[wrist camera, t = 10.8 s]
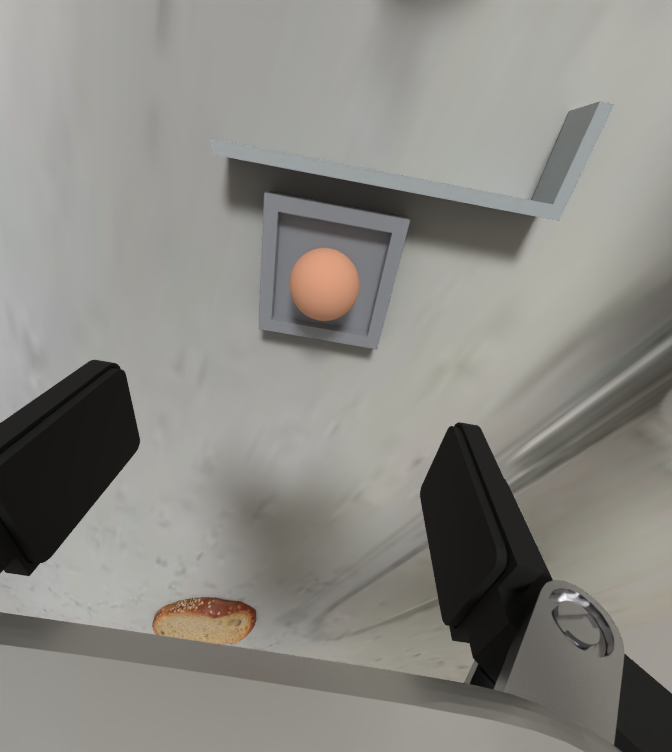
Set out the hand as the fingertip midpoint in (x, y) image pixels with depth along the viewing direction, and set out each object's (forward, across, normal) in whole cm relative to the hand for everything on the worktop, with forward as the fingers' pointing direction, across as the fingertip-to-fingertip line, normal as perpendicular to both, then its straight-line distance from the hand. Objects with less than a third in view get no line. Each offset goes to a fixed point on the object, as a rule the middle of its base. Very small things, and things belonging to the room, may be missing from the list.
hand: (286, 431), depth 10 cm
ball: (+18, 0, 0) cm, 19 cm away
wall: (+19, -3, -9) cm, 22 cm away
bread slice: (+19, +14, +66) cm, 70 cm away
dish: (+19, 0, 0) cm, 19 cm away
